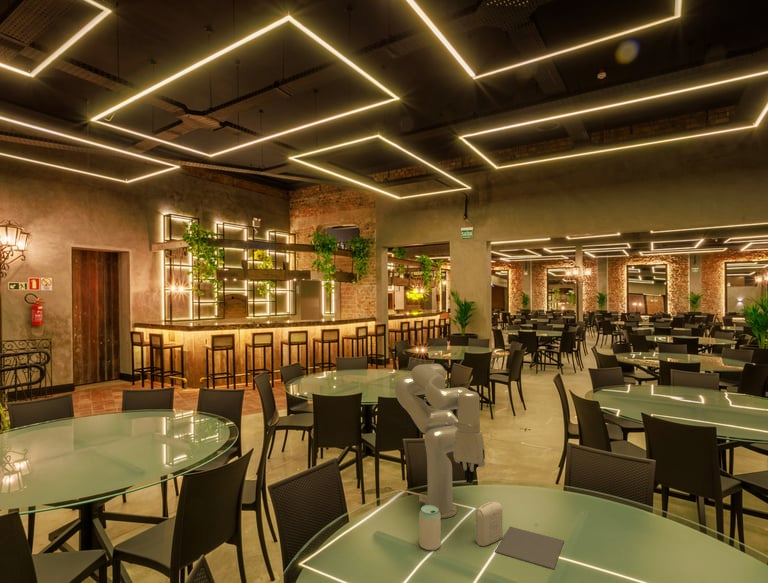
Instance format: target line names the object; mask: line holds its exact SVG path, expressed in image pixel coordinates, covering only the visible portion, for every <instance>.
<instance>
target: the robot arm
mask: <svg viewBox="0 0 768 583" xmlns="http://www.w3.org/2000/svg"><path fill="white" fill-rule="evenodd" d="M446 376H447V373H446V369H445V368H444V366H443V365H441V364H440V363H423V364H418V365H416V366H414V367H413V368H412V370H411V372H410V375H406V376H401V377H399V378H398V379H397V380H396V381H395V382H394V394H395V397H396V399H397V401H398V402H399V404H400V405H401V407H402V408H404V410H405V411H406V412H407V413H408V415H410V418H411V419H412V421H413V422H414V424H415V426H416V427H417V429H418V430H419V431H420V432H421V433H422V434H424V437H423V438H424V445H425V447H424V448H425V451H426V463H427V465H426V467H427V470H426V473H427V495H425V494H422V493H419V495H418V502H420V503H423V506H426V505H433V506H436V507H437V508H438V509H439V510H438V511H439V512H440V514H441V519H447V518H452V517H454V516H456V514H457V506H456V505H455V504H454V503H453V465H452V461H451V460H450V458H449V457H448V455H447V454H448V453H451V452H453V454H452V455H453V460H454V462H455V463H457V464H460V466H462V468H463V471H464V479H465V482H466V483H469V484H472V483H473V482H474V481H475V478H476V476H475V475H476V471H475V470H476V469H477V468H484V467H485V466H486V462H485V460H486V459H485V458H486V450H485V442H484V436H483V433H482V431H481V417H480V416H481V415H480V414H481V412H480V411H481V410H480V409H481V408H480V395H479V393H478V392H476V391H473V390H470V389H468V388H467V387H464V386H459V387H458V386H457V387H448V388H446V387H445V386H446ZM421 395H425V398H426V400H427V402H428V403H429V405H431V406H432V407H433V408H431V407H430V406H429V405H428V404H427V402H426V401H425V400H424V399H423V398H421V397H419V396H421ZM452 410H457V416H456V415H455V414H454V413H453V411H452Z"/></svg>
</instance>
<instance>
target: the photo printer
mask: <svg viewBox="0 0 768 583" xmlns="http://www.w3.org/2000/svg"><path fill="white" fill-rule="evenodd" d="M503 532H504V531H503V508H502V504H501V503H499V502H498V501H489V502H486V503H484V504H482V505H481V506H479V507H478V508H477V509H476V510H475V542H476V544H477V545H478V546H481V547H485V546H486V547H487V546H489V545H491V544H494V543H495V542H498V541H501V540H502V538H503V537H504V535H503Z"/></svg>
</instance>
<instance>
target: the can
mask: <svg viewBox="0 0 768 583" xmlns="http://www.w3.org/2000/svg"><path fill="white" fill-rule="evenodd" d="M438 510H439V509H438V508H437V507H436V506H433V505H426V506H424V505H423V506H422V507H421V508H420V511H419V513H418V522H419V524H418V528H419V529H418V532H419V535H418V539H419V541H418V542H419V546H420V547H421V548H423V549H424V550H426V551H435V550H437V549H439V548H440V547H441V545H442V541H441V540H442V538H441V537H442V534H441V533H442V532H441V528H442V526H441V525H442V522H441V519H442V518H441V514H440V512H439V511H438Z"/></svg>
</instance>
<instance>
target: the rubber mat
mask: <svg viewBox="0 0 768 583" xmlns="http://www.w3.org/2000/svg"><path fill="white" fill-rule="evenodd" d="M564 542H565V540H563V539H559V538H556V537H552V536H547V535H545V534H544V535H543V534H540V533H536V532H532V531H529V530H526V529H521V528H518V527H513V526H509V527H508V529H507V530H506V532H505V534H504V535H503V537H502V539H500V542H499V543H498V545H497V547H496V548H495V550H494V553H495V554H498V555H503V556H506V557H509V558H512V559H516V560H519V561H523V562H527V563H530V564H534V565H535V566H540V567H542V568H545V569H550V570H555V569H556V566H557V562H558V560H559V557H560V554H561V552H562V549H561V548H563V545H564ZM560 551H561V552H560Z"/></svg>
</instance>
